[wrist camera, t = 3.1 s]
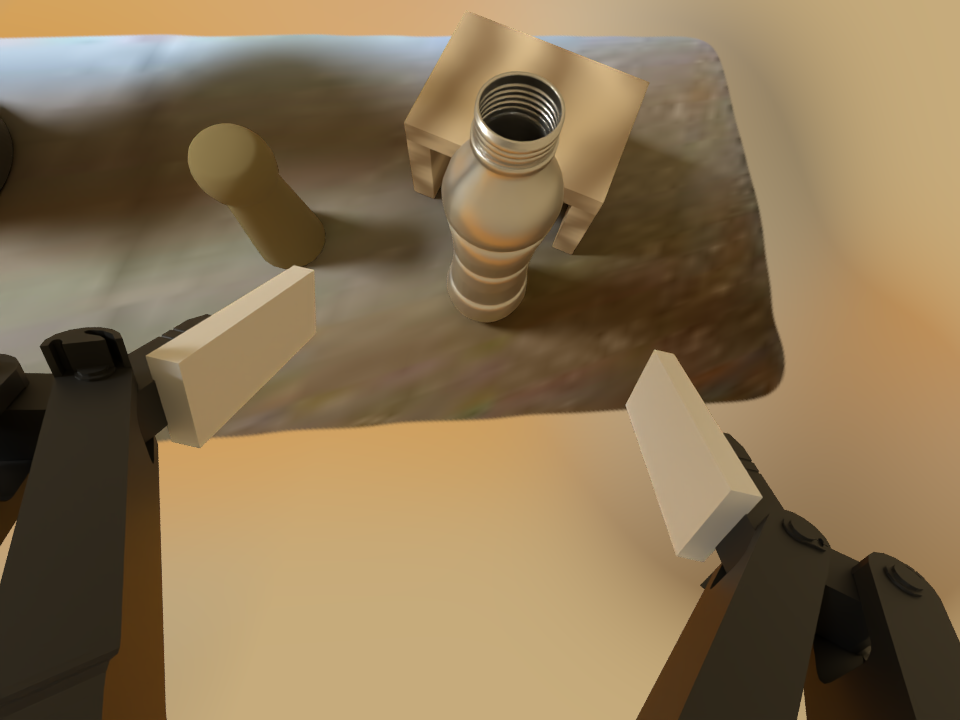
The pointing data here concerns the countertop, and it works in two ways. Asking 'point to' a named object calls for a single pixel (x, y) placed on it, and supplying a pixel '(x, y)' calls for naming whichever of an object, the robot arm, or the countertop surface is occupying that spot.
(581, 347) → the countertop surface
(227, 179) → the cork
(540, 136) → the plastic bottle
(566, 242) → the birch shelf
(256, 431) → the countertop surface
